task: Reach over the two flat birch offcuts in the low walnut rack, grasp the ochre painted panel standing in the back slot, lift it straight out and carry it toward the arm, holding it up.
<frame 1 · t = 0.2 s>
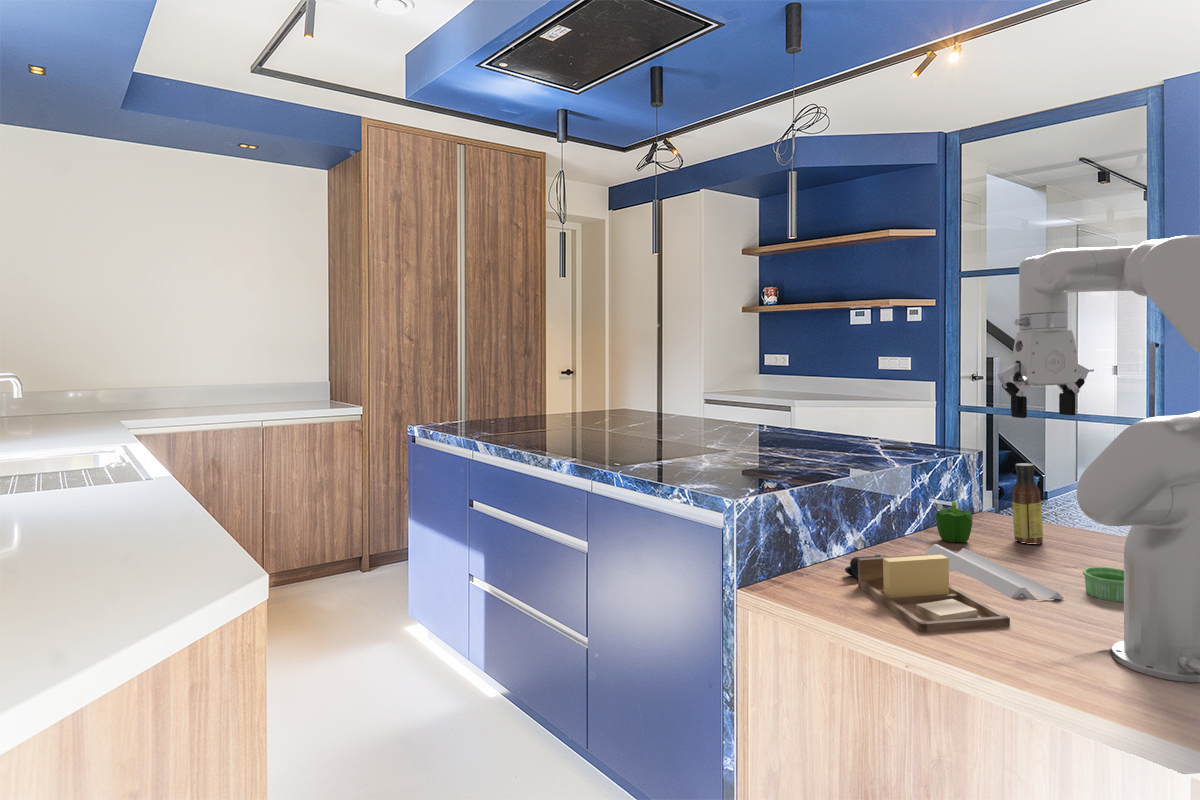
hand: (1043, 416, 126), 36 cm above the countertop, tool pointing down, fingers open, 9 cm apart
sauce bottle: (1027, 543, 170), on the countertop
bell pepper: (954, 541, 174), on the countertop
rack: (930, 611, 128), on the countertop
crown molding: (984, 580, 147), on the countertop
offcut upper: (946, 615, 124), point 1 cm above the countertop
ramekin: (1111, 596, 133), on the countertop
offcut lower: (945, 626, 123), on the countertop
panel: (916, 603, 133), on the countertop
can opener: (888, 579, 148), on the countertop
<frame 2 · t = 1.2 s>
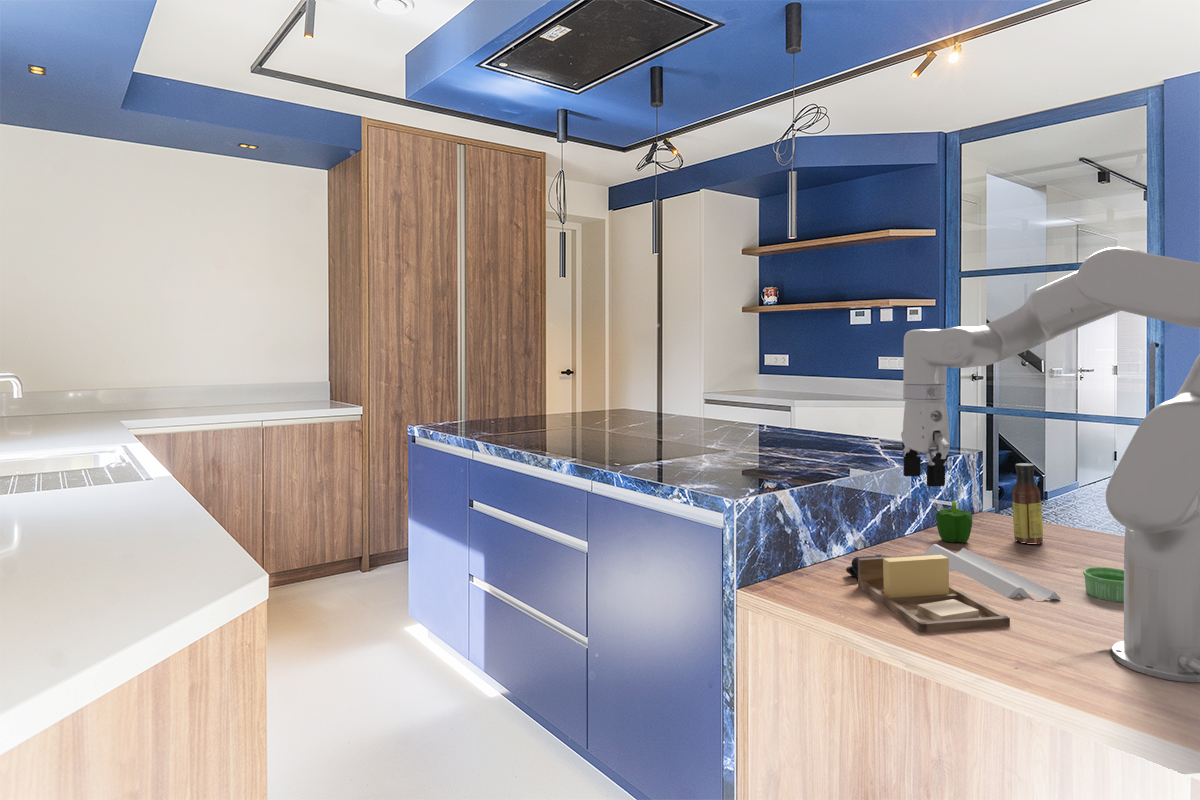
hand: (923, 480, 132), 24 cm above the countertop, tool pointing down, fingers open, 9 cm apart
offcut upper: (947, 616, 123), point 1 cm above the countertop, touching offcut lower
offcut lower: (945, 626, 123), on the countertop, touching offcut upper
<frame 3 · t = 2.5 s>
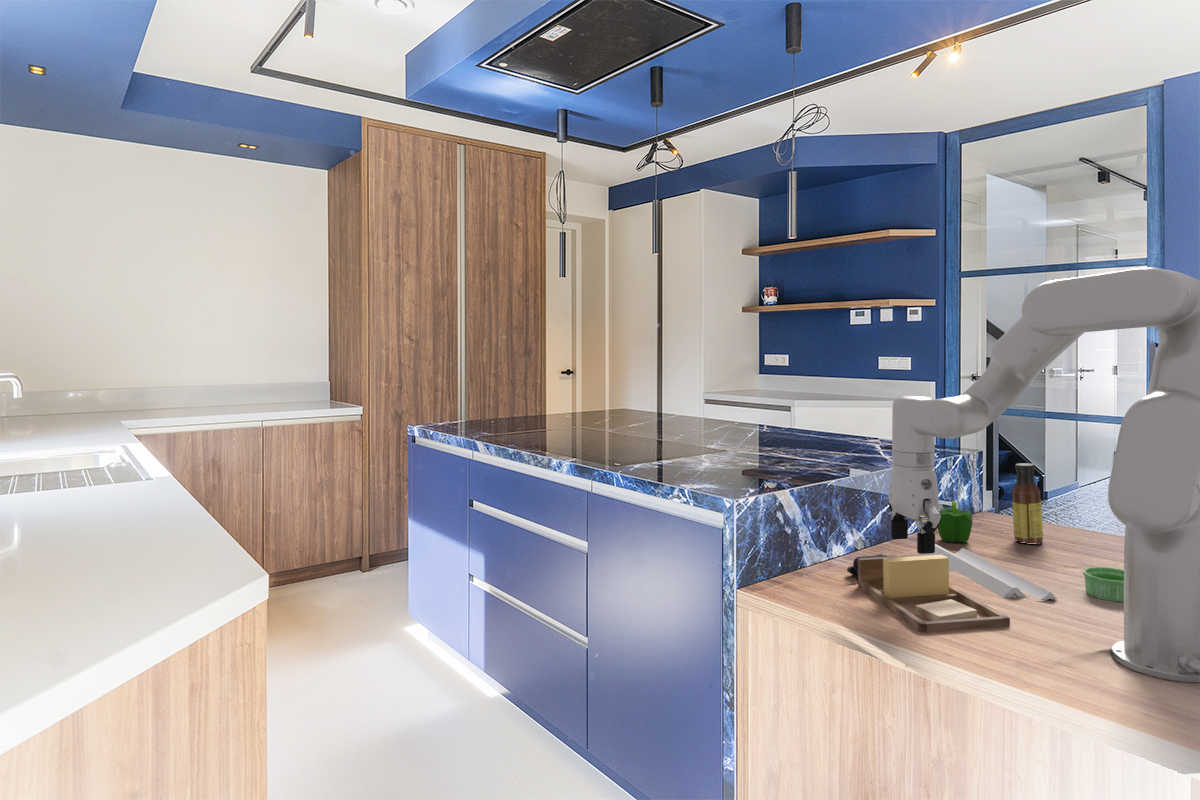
hand: (912, 545, 133), 11 cm above the countertop, tool pointing down, fingers open, 9 cm apart
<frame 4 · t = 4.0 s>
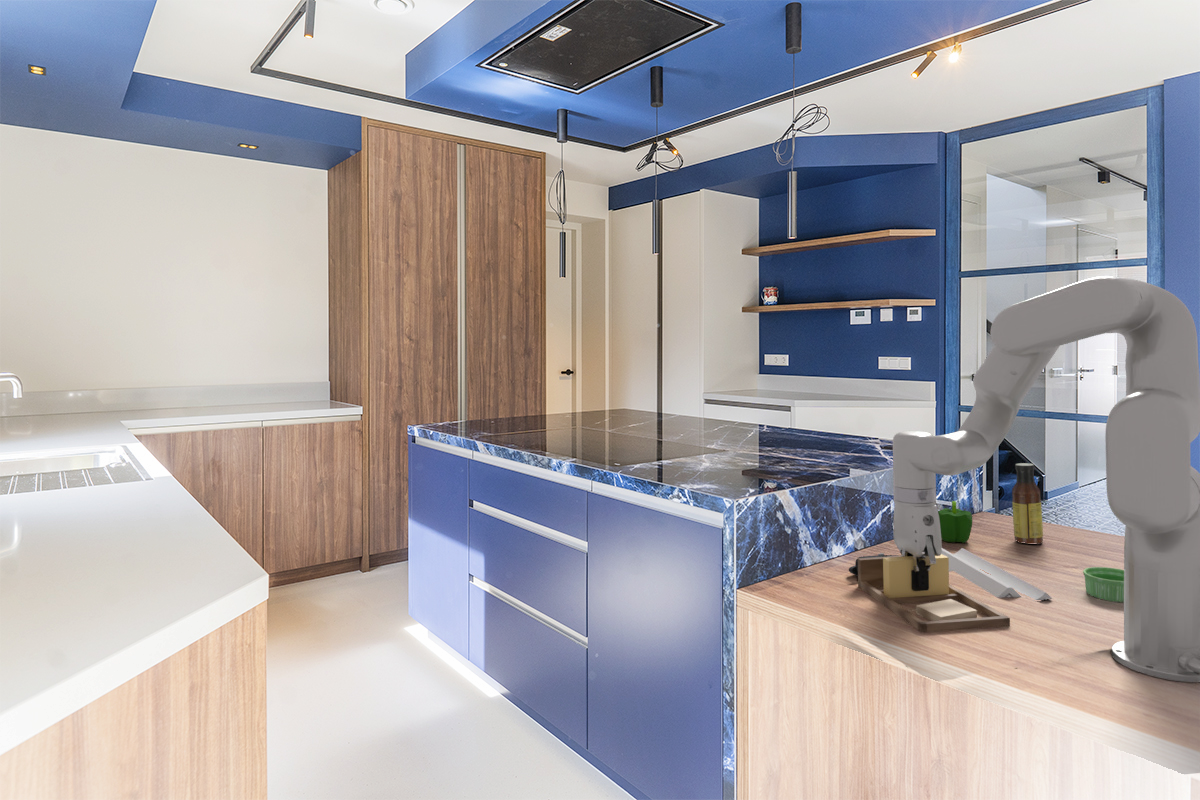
hand: (916, 586, 133), 3 cm above the countertop, tool pointing down, fingers closed on panel, 2 cm apart
panel: (916, 602, 133), on the countertop, touching gripper
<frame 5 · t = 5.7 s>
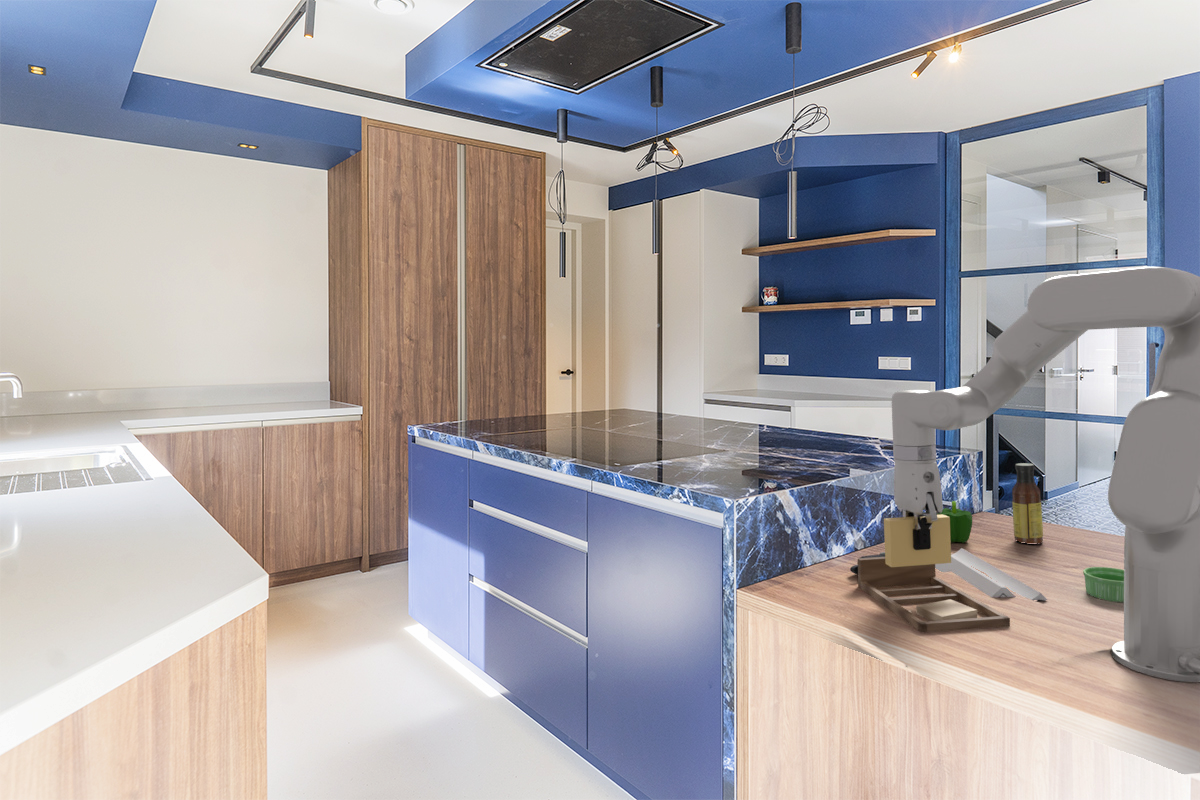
hand: (917, 546, 132), 11 cm above the countertop, tool pointing down, fingers closed on panel
panel: (918, 563, 132), point 8 cm above the countertop, touching gripper
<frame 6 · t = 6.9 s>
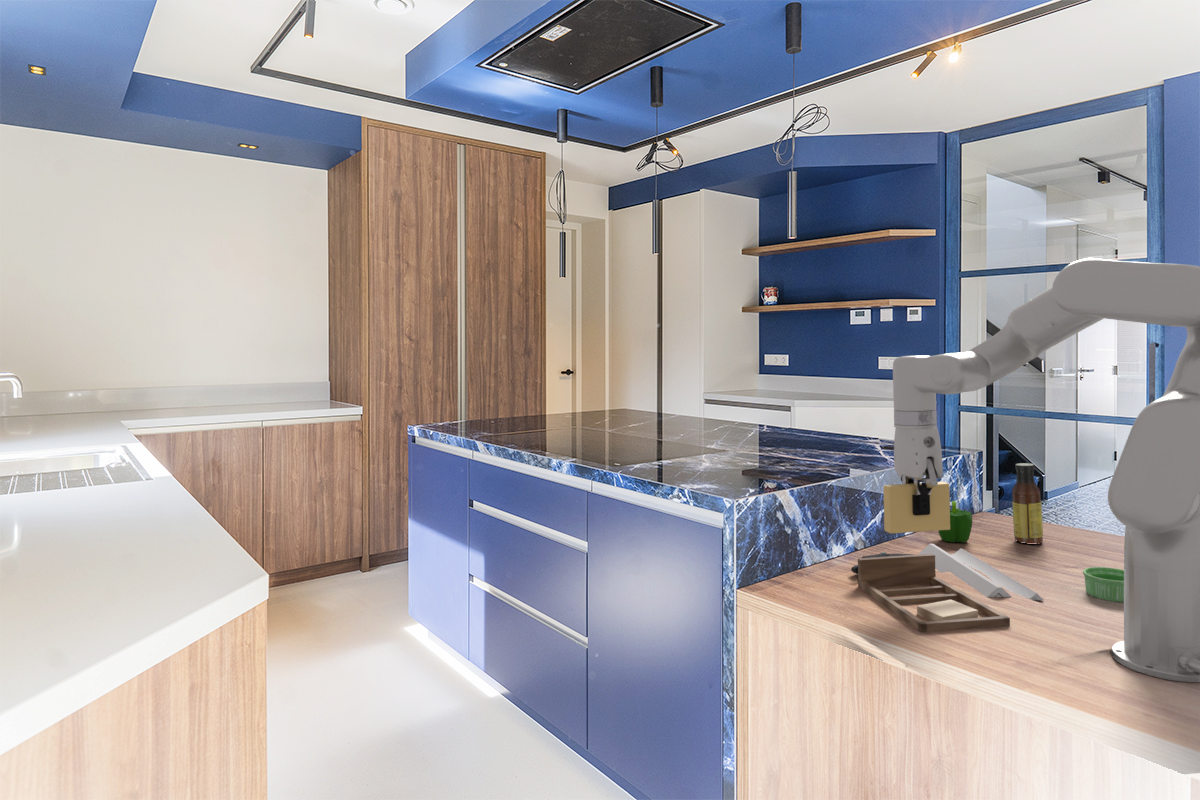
hand: (917, 512, 132), 18 cm above the countertop, tool pointing down, fingers closed on panel
panel: (917, 530, 132), point 15 cm above the countertop, touching gripper
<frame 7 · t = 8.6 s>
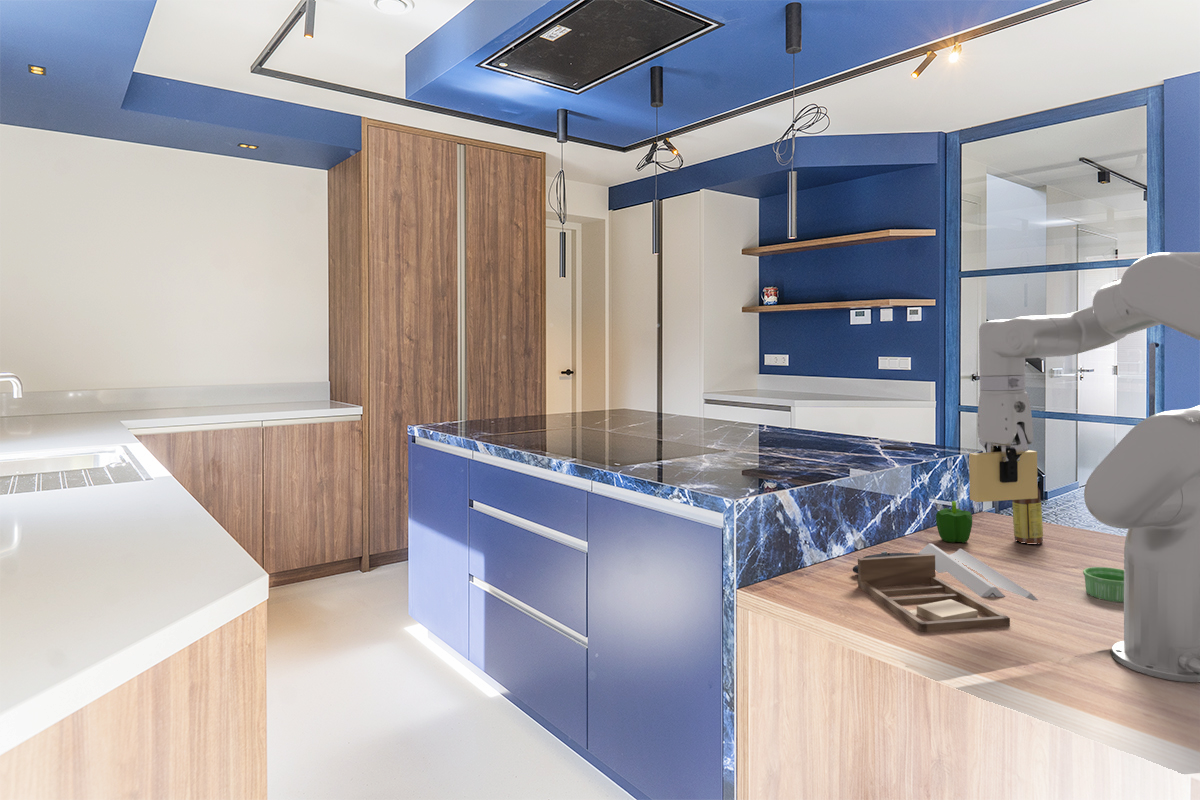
hand: (1003, 479, 130), 24 cm above the countertop, tool pointing down, fingers closed on panel
panel: (1003, 498, 130), point 20 cm above the countertop, touching gripper
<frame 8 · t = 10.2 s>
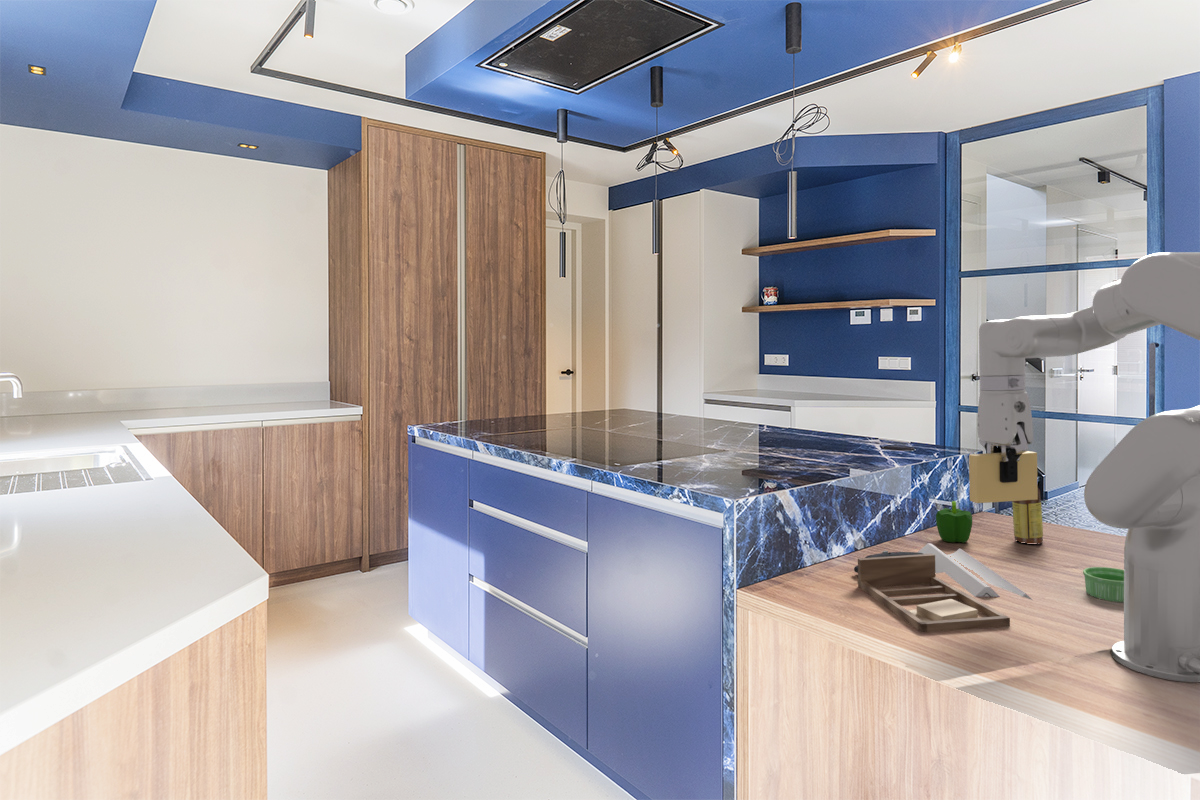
hand: (1003, 479, 130), 24 cm above the countertop, tool pointing down, fingers closed on panel
panel: (1003, 500, 130), point 20 cm above the countertop, touching gripper
at the end: the gripper is holding panel; panel inside the target area (0.1 cm from its centre), point 20.1 cm above the countertop; offcut upper moved 0.9 cm from its start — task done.
